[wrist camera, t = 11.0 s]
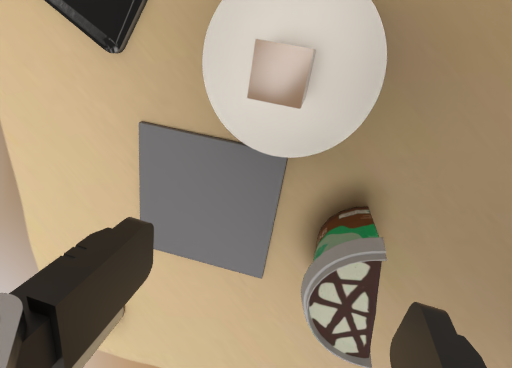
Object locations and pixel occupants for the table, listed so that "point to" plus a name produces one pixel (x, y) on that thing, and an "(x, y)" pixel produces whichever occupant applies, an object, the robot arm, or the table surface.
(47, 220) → the table surface
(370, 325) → the food container
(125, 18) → the phone
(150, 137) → the mat
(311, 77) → the lid
